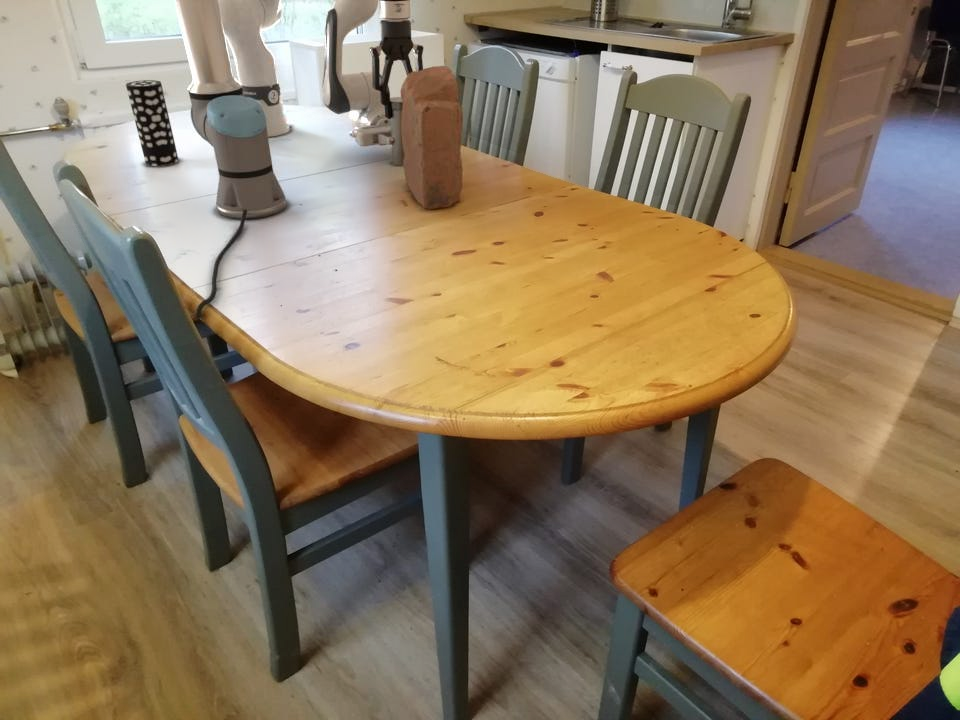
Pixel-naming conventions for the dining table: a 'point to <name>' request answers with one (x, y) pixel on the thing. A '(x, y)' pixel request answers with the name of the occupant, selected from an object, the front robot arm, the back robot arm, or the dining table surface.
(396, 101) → the lid
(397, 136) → the jar
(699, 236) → the dining table surface
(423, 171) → the stone
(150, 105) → the black white spotted cylinder
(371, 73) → the back robot arm
